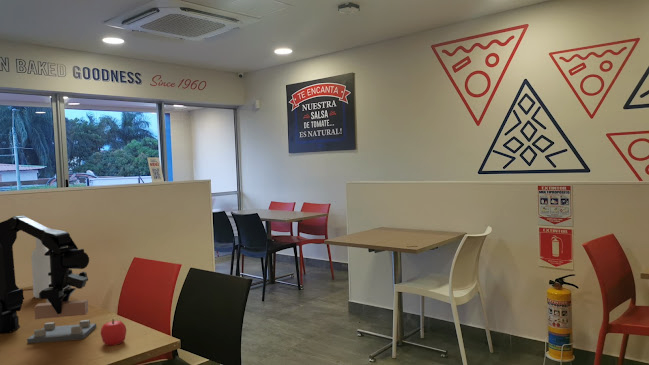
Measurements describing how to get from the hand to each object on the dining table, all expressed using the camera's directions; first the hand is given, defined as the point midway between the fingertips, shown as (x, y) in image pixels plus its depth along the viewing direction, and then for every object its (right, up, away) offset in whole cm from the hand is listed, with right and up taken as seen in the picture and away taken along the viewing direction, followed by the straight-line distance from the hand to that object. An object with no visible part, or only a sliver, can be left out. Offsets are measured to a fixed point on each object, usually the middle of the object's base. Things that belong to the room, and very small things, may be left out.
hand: (61, 312), depth 165 cm
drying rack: (0, -8, 0) cm, 8 cm away
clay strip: (0, -1, 0) cm, 1 cm away
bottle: (-40, -8, +56) cm, 69 cm away
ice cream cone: (-24, -8, +43) cm, 49 cm away
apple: (+23, -8, -9) cm, 26 cm away
